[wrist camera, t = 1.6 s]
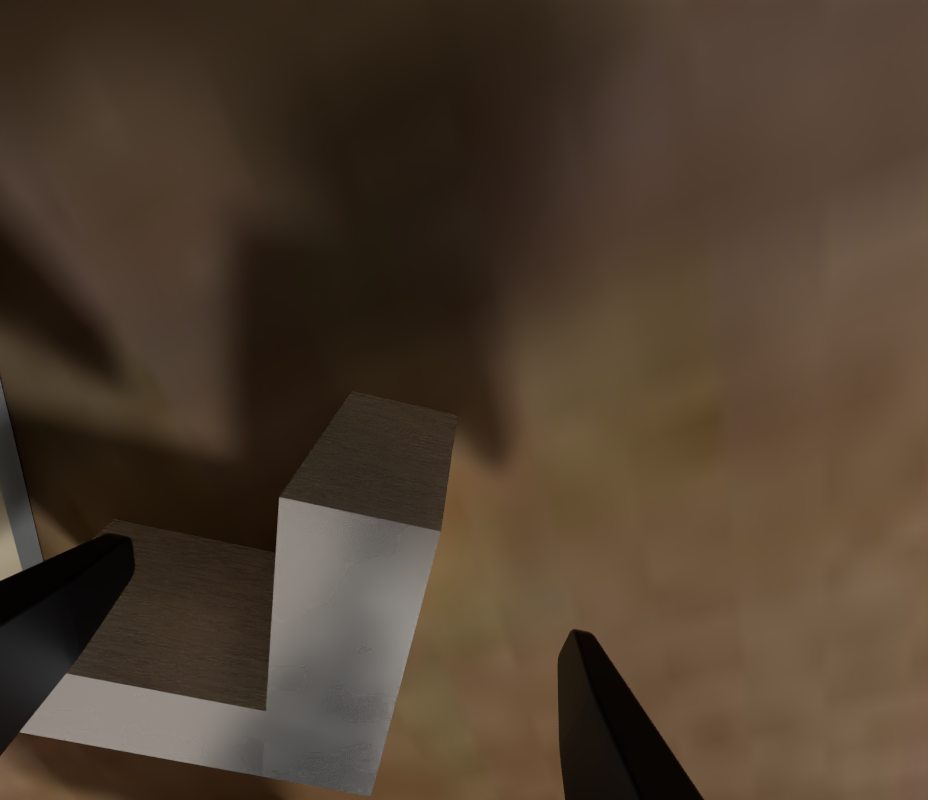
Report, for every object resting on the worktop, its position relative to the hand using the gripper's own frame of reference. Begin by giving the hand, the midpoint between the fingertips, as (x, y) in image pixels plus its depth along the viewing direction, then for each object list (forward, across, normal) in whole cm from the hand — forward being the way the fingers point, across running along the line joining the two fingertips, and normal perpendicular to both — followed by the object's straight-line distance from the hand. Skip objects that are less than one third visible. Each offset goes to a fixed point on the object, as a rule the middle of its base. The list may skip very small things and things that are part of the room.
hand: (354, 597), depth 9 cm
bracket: (+3, +3, +1) cm, 4 cm away
